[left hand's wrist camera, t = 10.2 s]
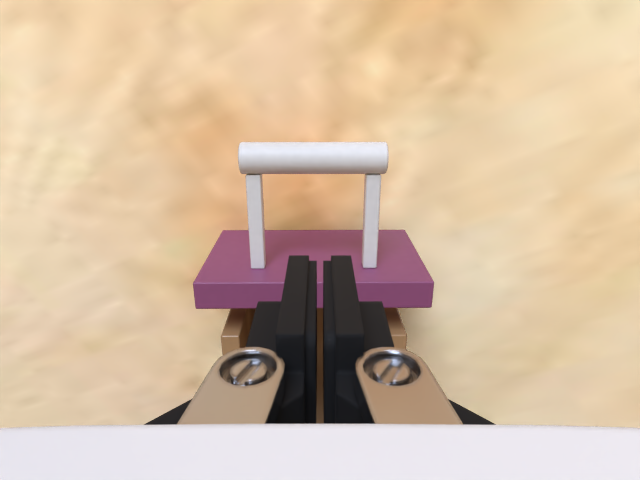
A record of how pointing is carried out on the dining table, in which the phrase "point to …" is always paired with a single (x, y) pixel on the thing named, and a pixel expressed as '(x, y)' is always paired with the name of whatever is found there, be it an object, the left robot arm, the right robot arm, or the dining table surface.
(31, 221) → the dining table surface
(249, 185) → the drawer
